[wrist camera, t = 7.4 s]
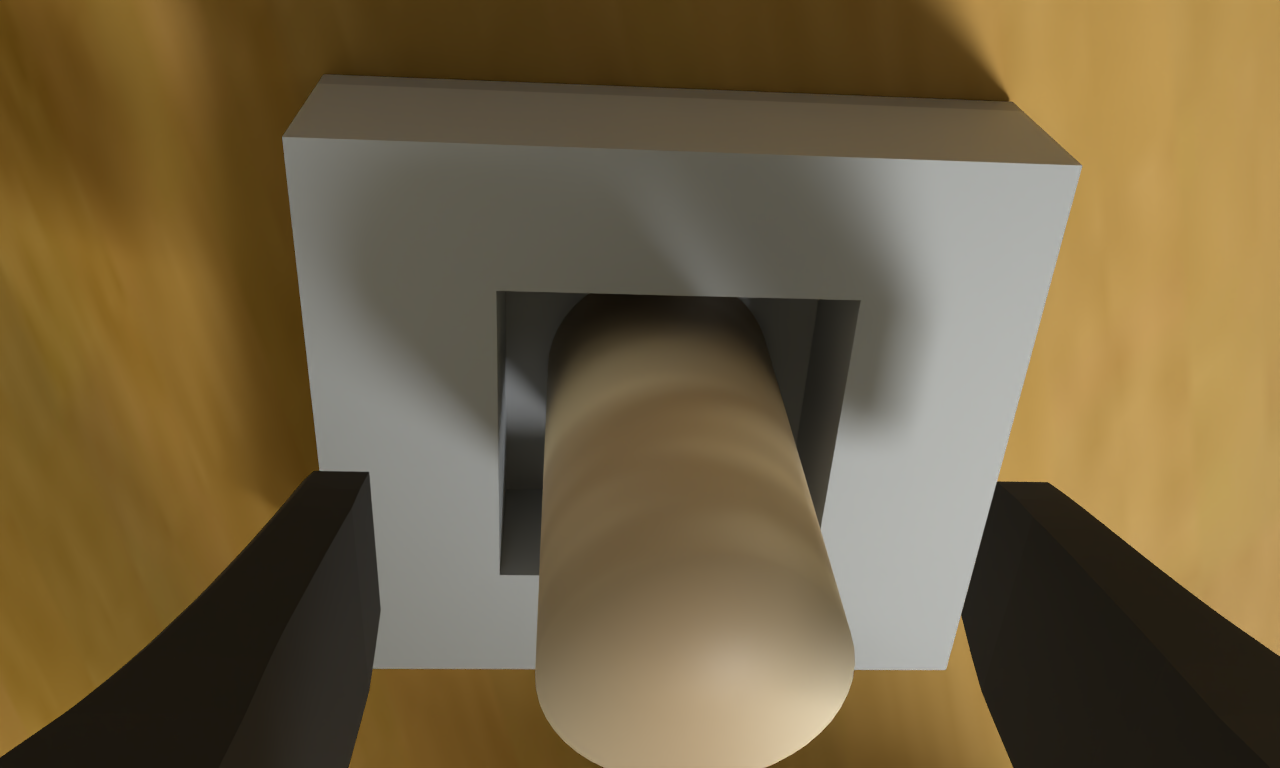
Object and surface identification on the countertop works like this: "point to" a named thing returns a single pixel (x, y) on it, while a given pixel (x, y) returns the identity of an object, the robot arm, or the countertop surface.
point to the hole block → (666, 265)
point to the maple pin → (680, 545)
